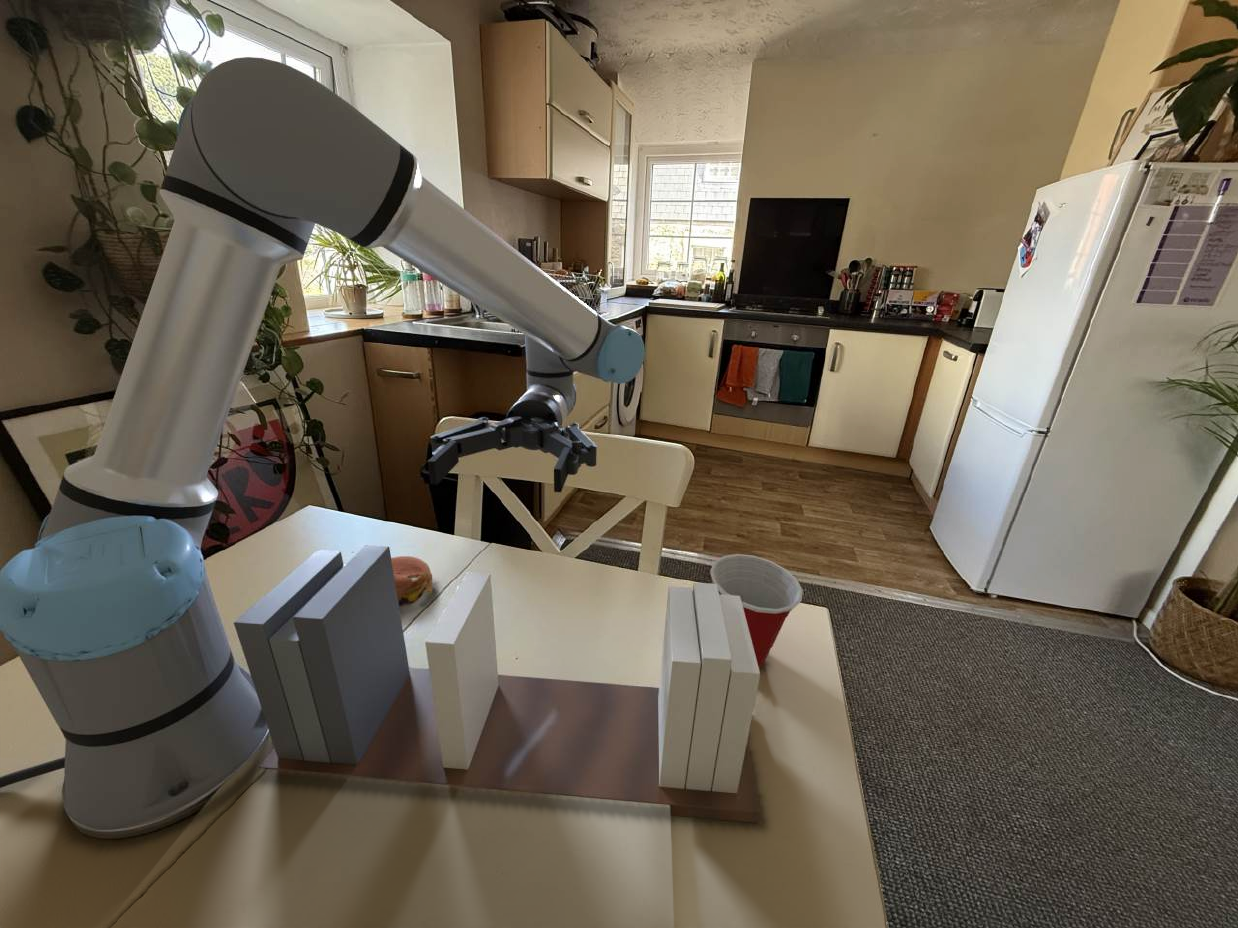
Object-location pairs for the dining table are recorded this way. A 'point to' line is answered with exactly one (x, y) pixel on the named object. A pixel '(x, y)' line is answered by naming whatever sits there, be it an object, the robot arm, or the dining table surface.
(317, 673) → the grey books
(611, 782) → the shelf board
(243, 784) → the dining table surface
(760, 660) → the plastic cup
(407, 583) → the burger
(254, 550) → the dining table surface
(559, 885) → the dining table surface
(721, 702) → the white books
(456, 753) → the white book
